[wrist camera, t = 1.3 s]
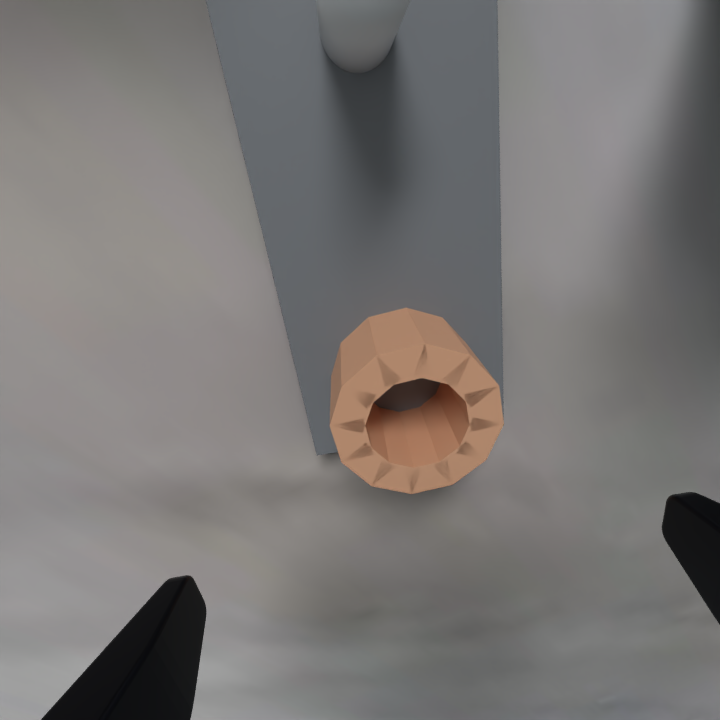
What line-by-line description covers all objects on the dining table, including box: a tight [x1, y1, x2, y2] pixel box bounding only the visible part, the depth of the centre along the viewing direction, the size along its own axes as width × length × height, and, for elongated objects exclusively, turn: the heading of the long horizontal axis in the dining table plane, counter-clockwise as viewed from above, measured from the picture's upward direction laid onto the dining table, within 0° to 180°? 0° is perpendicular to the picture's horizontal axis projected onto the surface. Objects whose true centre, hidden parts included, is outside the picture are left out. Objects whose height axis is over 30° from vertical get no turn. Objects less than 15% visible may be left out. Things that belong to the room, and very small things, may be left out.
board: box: [206, 0, 504, 455], centre depth 14 cm, size 18×9×6 cm, turn 9°
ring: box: [330, 308, 504, 494], centre depth 16 cm, size 6×6×4 cm
